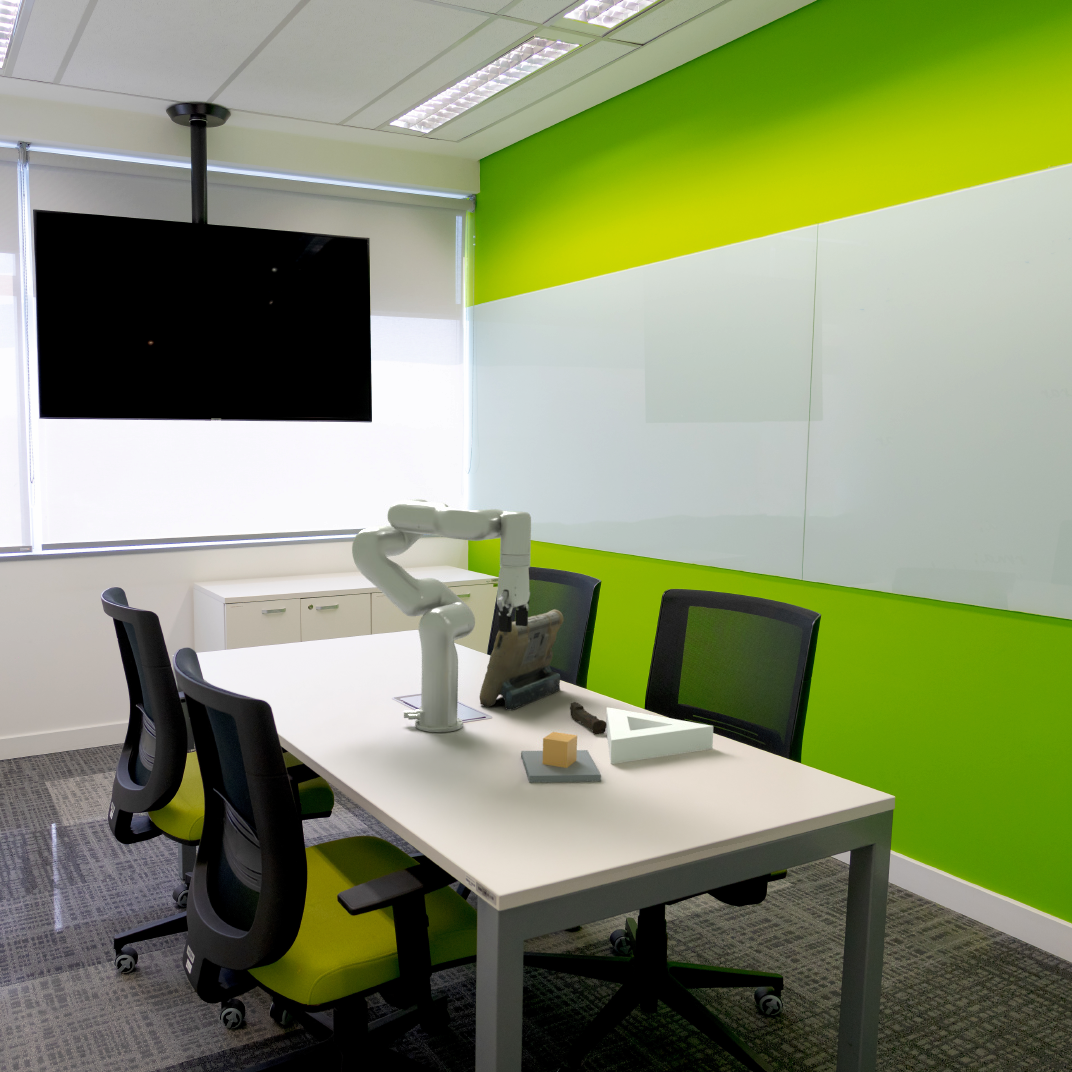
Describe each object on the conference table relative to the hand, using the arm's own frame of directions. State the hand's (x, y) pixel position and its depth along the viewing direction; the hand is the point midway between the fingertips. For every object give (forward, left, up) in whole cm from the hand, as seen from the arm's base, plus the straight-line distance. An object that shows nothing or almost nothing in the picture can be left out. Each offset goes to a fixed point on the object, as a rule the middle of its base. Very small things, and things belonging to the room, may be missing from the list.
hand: (513, 628), depth 247 cm
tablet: (+7, +42, -29) cm, 51 cm away
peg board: (+9, -24, -28) cm, 38 cm away
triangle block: (+37, -8, -29) cm, 47 cm away
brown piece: (+20, +12, -29) cm, 37 cm away
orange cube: (+9, -24, -27) cm, 37 cm away
